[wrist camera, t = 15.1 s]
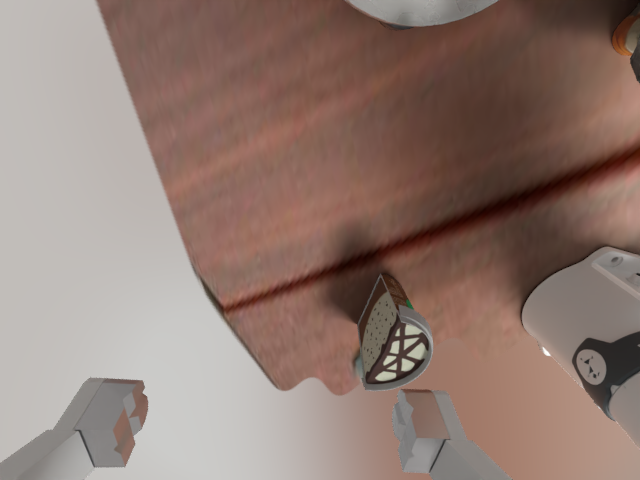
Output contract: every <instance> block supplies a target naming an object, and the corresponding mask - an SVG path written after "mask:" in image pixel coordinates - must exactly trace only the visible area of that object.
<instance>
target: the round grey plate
mask: <svg viewBox="0 0 640 480" xmlns="http://www.w3.org/2000/svg"><path fill="white" fill-rule="evenodd" d="M344 1H345V2H347V3H348V4H349V5H350V6H352V7H353V8H354V9H356V10H358V11H360V12H362V13H363V14H365V15H367V16H369V17H371V18H374V19H376V20H379V22H380V23H381V24H382V25H383V26H384V27H386V28H388V29H390V30H404V29H410V28H413V27H423V26H432V25H440V24H445V23H449V22H452V21H456V20H460V19H463V18H465V17H468V16H470V15H472V14H475V13H477V12H480V11H481V10H483V9H485V8H486V7H488V6H490V5H492V4H493V3H495V2H497V1H498V0H344Z"/></svg>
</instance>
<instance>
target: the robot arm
mask: <svg viewBox="0 0 640 480" xmlns="http://www.w3.org/2000/svg"><path fill="white" fill-rule="evenodd" d="M522 323H523V326H524V328H525V329H526V331H527V332H528V333H529V334H530V335H532V336H533V337H534V338H535V339H536V340H537V342H538V346H539V348H540V350H541V351H542V352H543V353H544V354H545V355H547V356H552V357H553V358H554V359H555V360H556V361H557V362H558V363H559V365H560V366H561V367H562V368H563V369H564V370H565V371H566V372H567V373H568V374H569V375H570V376H571V377H572V378H573V379H574V380H575V381H576V382H577V383H578V384H579V385H580V386H581V387H582V388H584V389H585V390H586V392H587V393H588V394H589V395H590V397H591V398H592V399H593V400H594V403H595V404H596V405H597V407H598V408H599V409H600V410H602V411H603V412H604V413H605V414H606V416H608V417H609V418H610V419H611V420H613V421H616V422H617V423H618V424H619V425H620V427H621V428H622V429H623V430H624V431H625V433H626V434H627V435H628V436H629V437H630V439H631V440H632V441H633V442H634V444H635V445H636V446H637V447H638V449H639V450H640V255H637V254H633V253H630V252H626V251H623V250H619V249H615V248H612V247H603V248H601V249H599V250H597V251H595V252H594V253H593V254H591V255H590V256H588V257H587V258H586V259H584V260H583V261H581V262H579V263H577V264H575V265H572V266H570V267H567V268H565V269H563V270H561V271H559V272H557V273H555V274H553V275H552V276H550V277H549V278H547V279H546V280H545V281H543V282H542V283H541V284H540V285H539V286H538V287H537V288H536V289H535V290H534V291H533V292H532V293H531V295H530V296H529V298H528V299H527V301H526V303H525V305H524V308H523V312H522ZM144 388H145V386H144V383H143V381H142V380H125V379H108V378H89V379H88V380H87V381H85V382H84V383H83V385H82V386H81V388H80V389H79V391H78V392H77V394H76V396H75V397H74V399H73V400H72V402H71V403H70V405H69V406H68V408H67V409H66V411H65V412H64V414H63V415H62V417H61V418H60V420H59V421H58V423H57V424H56V426H55V427H54V429H53V430H47V431H45V432H44V433H42V434H41V435H40V436H38V437H36V438H35V439H34V440H32V441H31V442H30V443H28V444H27V445H25V446H24V447H22V448H21V449H20V450H18V451H17V452H15V453H14V454H12V455H11V456H10V457H8V458H7V459H5V460H4V461H2V462H1V463H0V480H84V479H85V478H86V477H87V476H88V475H89V474H90V473H91V472H92V471H93V470H94V467H125V466H126V464H127V462H128V459H129V457H130V455H131V453H132V450H133V448H134V446H135V441H134V437H133V436H134V435H135V434H136V433H137V432H138V431H140V430H141V429H142V427H143V424H144V422H145V419H146V416H147V411H148V399H147V396H146V395H144V394H143V390H144ZM397 397H398V401H399V402H398V403H396V404H395V405H394V408H393V412H392V422H393V430H394V435H395V436H396V437H397V438H398V440H399V441H400V445H399V448H398V452H399V456H400V461H401V465H402V470H403V472H416V473H430V474H429V475H430V476H431V478H432V479H433V480H513V479H511V478H510V477H509V476H508V475H507V474H506V473H505V472H504V471H503V470H502V469H501V468H500V467H499V466H498V465H497V464H496V463H495V462H494V461H493V460H492V459H491V458H490V457H489V456H488V455H487V454H486V453H485V452H484V451H483V450H482V449H481V448H480V447H478V446H477V445H476V444H475V443H474V442H473V441H471V440H467V437H466V435H465V433H464V430H463V428H462V425H461V423H460V420H459V418H458V415H457V413H456V410H455V408H454V406H453V403H452V401H451V398H450V396H449V394H448V393H447V392H446V391H439V390H414V389H412V390H411V389H401V390H400V391H399V392H398V395H397Z"/></svg>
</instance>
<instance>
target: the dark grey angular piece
mask: <svg viewBox="0 0 640 480" xmlns="http://www.w3.org/2000/svg"><path fill="white" fill-rule="evenodd" d="M612 42H613V43H612V44H613V46H614V49H615V50H616V51H617V52H618V53H620V54H621V55H632V56H631V58H630V64H631V66H632V68H633V70H634V73H635V75H636V79H637V81H638V82H639V83H640V2H639V4H638V5H637V6H636V8H635V9H634V10H633V12H632V13H631V14H630V15H629V16H627V17H626V18H625V19H624V20H623V21H622V22H621V23H620V24H619V25H618V26H617V28H616V30H615V31H614V35H613V37H612Z"/></svg>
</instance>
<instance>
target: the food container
mask: <svg viewBox="0 0 640 480" xmlns="http://www.w3.org/2000/svg"><path fill="white" fill-rule="evenodd" d="M357 327H358V335H359V343H360V352H361V360H362V369H363V377H364V378H362V382H363V386H364V387H365V390H367V391H384V390H390V389H394V388H398V387H401V386H403V385H406V384H408V383H410V382H411V381H413V380H415V379H416V378H417V377H419V376H420V375H421V374H422V373H423V372H424V370H425V369H426V368H427V367H428V365H429V363H430V361H431V358H432V352H433V340H432V333H431V329H430V326H429V324H428V322H427V321H426V320H425V318H424V317H423V316H422V315H420V314H419V313H418V312H416V311H415V310H414V308H413V307H412V305H411V303H410V301H409V299H408V297H407V296H406V294H405V292H404V290H403V288H402V286H401V285H400V284H399V282H398V281H396V280H395V279H394V278H392V277H391V276H389V275H386V274H383V273H380V275H379V277H378V279H377V282H376V284H375V286H374V288H373V291H372V293H371V295H370V297H369V300H368V302H367V304H366V306H365V308H364V311H363V313H362V315H361V317H360V320H359V322H358V324H357Z"/></svg>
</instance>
